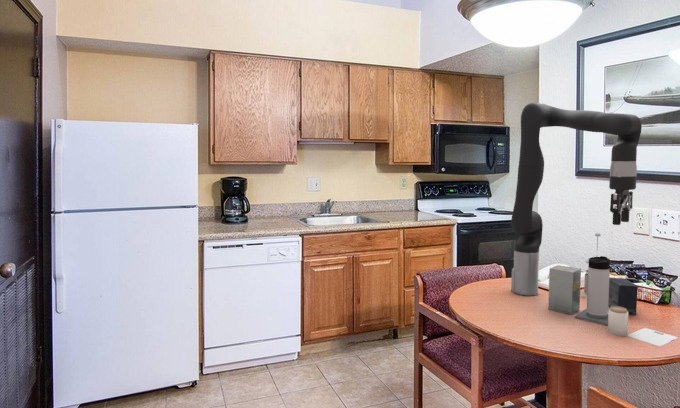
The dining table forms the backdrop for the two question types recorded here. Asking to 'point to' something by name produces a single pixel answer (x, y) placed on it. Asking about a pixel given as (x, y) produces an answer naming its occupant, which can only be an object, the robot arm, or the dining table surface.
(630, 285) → the small box
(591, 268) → the travel mug
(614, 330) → the cream jar
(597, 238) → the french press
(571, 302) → the box
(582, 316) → the slate pad
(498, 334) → the dining table surface
